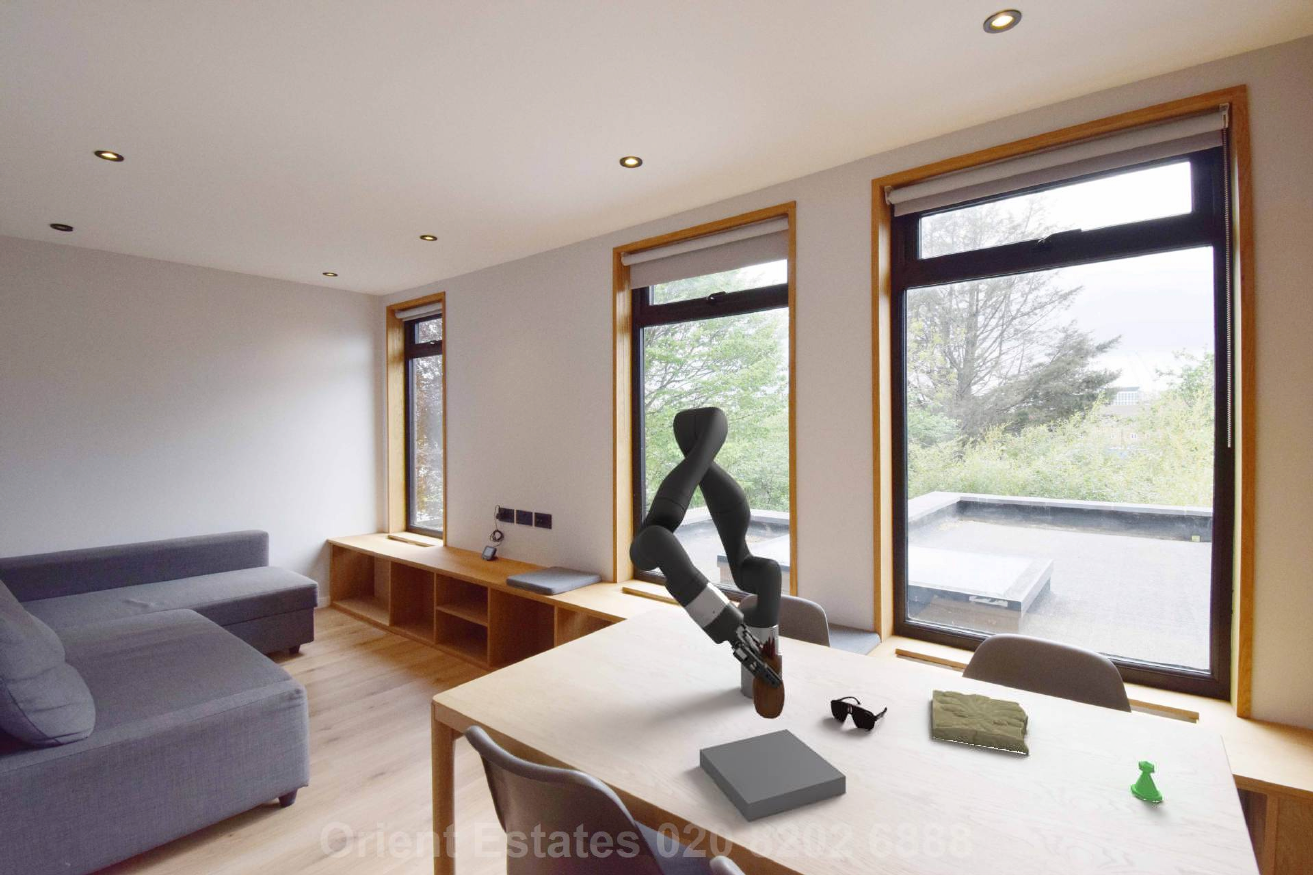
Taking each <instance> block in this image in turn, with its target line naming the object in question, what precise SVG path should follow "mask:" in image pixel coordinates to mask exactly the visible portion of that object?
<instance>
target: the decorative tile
mask: <svg viewBox="0 0 1313 875" xmlns="http://www.w3.org/2000/svg"><path fill="white" fill-rule="evenodd" d="M931 707H932V711H931V712H932V714H931V715H932V717H931V718H932V735H933V736H934V737H935V738H934V737H933V738H934V739H936V738H941V739H944V740H943V741H946V740H953V741H957V742H963V743H968V744H967V745H969V744H974V745H973V746H975V745H981V746H986V747H994V748H998V749H1006V750H1009V751H1017V752H1018V751H1019V752H1023V753H1028V754H1029V753H1030V748H1029V747H1028V744H1026V743H1025V740H1024V738H1025V739H1026V737H1025V735H1026V734H1027V733H1028V731H1027V727H1028V722H1029V721H1028V720H1029V716H1028V715H1027V714H1026V711H1025V710H1024V709H1023V708H1022V707H1021V706H1020V703H1019V702H1017V701H1010V700H1003V699H997V698H990V697H989V696H987V695H983V694H982V695H981V694H977V693H971V694H965V693H962V692H958V691H952V690H946V691H942V690H938V689H933V691H932V706H931ZM1026 732H1027V733H1026ZM1025 733H1026V734H1025ZM941 739H940V740H941ZM957 742H956V743H957ZM963 743H962V744H963Z"/></svg>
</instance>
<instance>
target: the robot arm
mask: <svg viewBox="0 0 1313 875" xmlns="http://www.w3.org/2000/svg"><path fill="white" fill-rule="evenodd" d="M728 423H729V422H728V419H727V416H726V414H725V412H724V411H723V410H722V409H721V408H719V407H717V406H705V407H697V408H691V409H685V410H681V411H678V412H677V413H676V414H675V416H674V418H673V422H672V429H673V435H674V437H675V441H676V443H677V446H678V448H679V450H680V452H681V454H682V455H683V459H682V460H681V461H680V462H679V463H678V464H677V465H676V466H675V467H673V469H672V470H671V471H670V472H669V473H667V475H666V476H665V477H664V479H663V480H662V482H661V483H660V484H659V486H658V489H657V491H656V493H655V495H654V498H653V500H652V503H651V504H650V506H649V507H650V508H649V510H648V512H647V515H646V516H645V518H644V519H643V520H642V523H641V524H640V526H639V528H638V529H637V531H636V533H635V535H634V537H633V539H632V540H631V543H630V544H629V546H630V547H629V549H628V550H629V551H628V552H629V553H628V554H629V558H630V562H631V563H632V565H633V566H634V567H635V568H636V569H638V570H639V571H642V572H651V571H654V570H656V569H659V570H660V572H661V573H662V575H663V576H664V577H665V582H664V588H665V590H666V591H667V592H668V594H669V595H670V596H671V597H672V598H673V599H674V600H675V601H676V602H677V603H678V604H679V605H680V606H681V607H682V608H683V609H684V610H685V612H686V613H687V615H688V616H689V617H690V619H691V620H693V622H694V623H695V624H696V625H697V626H698V627H699V628H700V629H701V630H702V631H703V632H704V634H706V635H707V636H708V637H709V638H710V639H711V640H712V641H713V642H714V643H715V644H716V645H720V644H723V643H725V642H728V643H729V644H730V646H731V650H732V651H733V652H732V655H733V657H734V658H736V660H737V661H738V662H739V663H740V690H741V691H740V692H741V693H742V694H743V695H744V696H746V697H748V698H752V699H753V693H752V686H753V680H754V677H757V676H759V675H760V676H761V677H762V678H763V680H764V681H765V682H766V683H767V684H768V685H769V686H770V687H771V688H772V689H774V690H776V689H777V688H778V687H779V686H780V685H781V684H782V680H783V655H782V653H780V652H779V650H780V649H779V646H780V645H779V618H780V617H779V616H780V613H781V606H782V584H783V578H782V576H783V575H782V574H783V573H782V569H781V566H780V564H779V562H778V561H777V560H776V559H772V558H767V557H763V556H762V557H761V556H756V555H754V554H752V552H751V551H750V549H749V547H748V544H747V541H746V535H747V533H748V530H749V526H750V523H751V518H752V517H751V515H752V514H751V507H750V505H749V503H748V500H747V497H746V494H745V492H744V490H743V488H742V486H741V484H739V483H738V482H737V481H736V479H735V478H733V477H732V476H731V474H729V473H728V472H727V471H726V470H724V469H723V467H721V466H719V464H718V463H717V462H716V461H715V458H716V457H717V455H718V454H719V452H720V450H721V449H722V447H723V445H724V444H725V442H726V440H727V437H728V431H729V424H728ZM697 488H699V489H700V492H701V495H702V496H703V499H704V502H705V504H706V507H707V509H708V513H709V515H710V517H711V520H712V522H713V524H714V526H715V529H716V531H717V534H718V536H719V538H720V542H721V545H722V546H723V550H724V553H725V556H726V559H727V563H728V567H729V571H730V574H731V577H732V581H733V582H734V585H735V587H736V588H737V589H738V590H739V591H742V592H744V593H747V594H751V595H754V596H757V597H756V598H757V599H756V604H754V605H750V606H746V607H744V608H742V609H741V610H740V609H739V608H738V606H736V605H735V603H733V601H731V600H730V598H729V597H728V596H727V595H726V594H724V592H723V591H722V590H720V588H719V587H717V586H716V584H714V583H713V582H711V581H710V580H709V579H708V578H707V577H706V576H705V575H704V574H703V573H702V572H701V571H700V569H698V568H697V567H696V566H695V564H693V561H692V560H691V558H690V556H689V554H688V553H687V550H686V549H685V548H684V546H683V545H682V543H681V542H680V540H679V539H678V538H677V537H676V535H675V534H674V533H675V532H676V530H678V528H679V527H680V526H681V524H682V523H683V521H684V518H685V516H686V514H687V510H688V508H689V506H690V504H691V502H692V498H693V496H694V494H695V492H696V490H697ZM769 637H770V639H771V643H772V639H773V637H775V654H777V655H778V656H779V657H780V660H781V671H780V673H779V675H780V676H781V678H782V680H781V678H780V677H779V676H778V675H777V674H776V673H775V672H774V671H773V670H772V669H771V668H770V667H769V666H768V664H767V663H766V662H765V661H764V660H763V659H762V657H761V655H762V648H763V643H765V642H766V641H768V638H769ZM756 663H757V664H758V666H757V667H756Z"/></svg>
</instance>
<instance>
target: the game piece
mask: <svg viewBox="0 0 1313 875" xmlns="http://www.w3.org/2000/svg"><path fill="white" fill-rule="evenodd" d="M1137 763H1138V770H1140V771H1142V772H1141V774H1140V775H1139V777H1138V779H1137V781H1136V782H1135V783H1134V784H1130V790H1132V791H1131V793H1132V792H1133V793H1132V795H1133V794H1135V795H1137V796H1138V797H1137V796H1136V797H1137V798H1139V797H1140V798H1139V799H1141V798H1142V799H1146V800H1149V801H1148V802H1150V801H1155V802H1156V801H1160V802H1162V801H1163V795H1162V793H1161V792H1160V790H1158V789H1157V786H1156V784H1155V782H1154V780H1153V778H1152V775H1151V774H1154V773H1156V770H1155V765H1154V764H1152V763H1151V762H1149V761H1147V760H1145V761H1143V760H1142V761H1141V760H1140V761H1138V762H1137ZM1135 795H1134V796H1135ZM1142 799H1141V800H1142ZM1146 800H1145V801H1146ZM1161 800H1162V801H1161ZM1155 802H1154V803H1155ZM1156 803H1157V802H1156Z"/></svg>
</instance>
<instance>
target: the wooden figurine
mask: <svg viewBox="0 0 1313 875" xmlns="http://www.w3.org/2000/svg"><path fill="white" fill-rule="evenodd" d="M761 657H762V659H763V660H764V661H765V662H766V663H767V664H768V666H769V667H770V668H771V669H772V670H773V671H774V672H775V673H776V674H777V675H778V676H779V677H780V678H781V676H780V675H779V673H780V671H781V660H780V657H779V656H778V655H777V654H775V637H773V639H772V643H771V639H770V637H769V638H768V641H766V642H765V643H763V648H762V655H761ZM757 666H758V664H757V663H756V667H757ZM781 680H782V684H781V685H780V686H779V687H778V688H777V689H776V690H774V689H772V688H771V687H770V686H769V685H768V684H767V683H766V682H765V681H764V680H763V678H762V677H761V676H760V675H759V676H757V677H754V680H753V686H752V693H753V698H752V701H753V705H754V709H755V710H754V711H755V712H756V714H757V715H759V716H760V717H762V718H763V719H770V720H774V719H776V718H778V717H779V716H781V715H782V712H783V711H784V710H783V709H784V707H785V700H786V697H785V696H786V695H785V694H786V692H785V691H786V690H785V684H784V680H783V677H782V678H781Z"/></svg>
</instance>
